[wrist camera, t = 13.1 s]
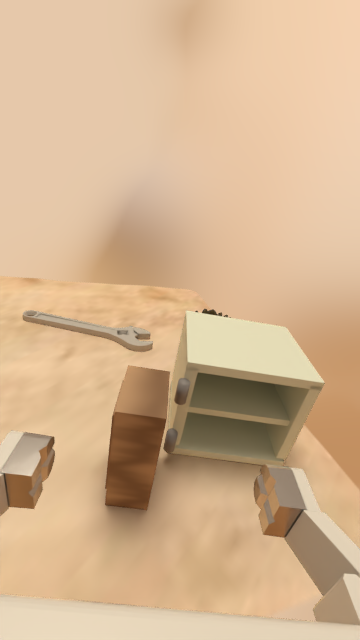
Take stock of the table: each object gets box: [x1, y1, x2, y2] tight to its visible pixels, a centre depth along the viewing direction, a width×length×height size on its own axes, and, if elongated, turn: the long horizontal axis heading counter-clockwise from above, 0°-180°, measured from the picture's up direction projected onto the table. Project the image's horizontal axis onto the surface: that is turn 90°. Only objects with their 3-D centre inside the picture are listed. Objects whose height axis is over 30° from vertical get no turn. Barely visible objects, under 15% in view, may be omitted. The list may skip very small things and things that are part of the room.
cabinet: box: [164, 311, 325, 466], centre depth 36 cm, size 15×13×13 cm
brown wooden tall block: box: [105, 365, 170, 510], centre depth 27 cm, size 4×6×12 cm
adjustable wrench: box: [23, 310, 153, 352], centre depth 55 cm, size 25×6×2 cm, turn 78°
